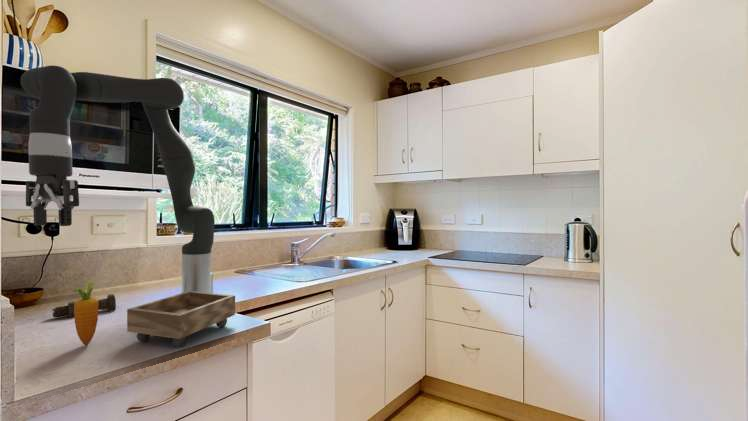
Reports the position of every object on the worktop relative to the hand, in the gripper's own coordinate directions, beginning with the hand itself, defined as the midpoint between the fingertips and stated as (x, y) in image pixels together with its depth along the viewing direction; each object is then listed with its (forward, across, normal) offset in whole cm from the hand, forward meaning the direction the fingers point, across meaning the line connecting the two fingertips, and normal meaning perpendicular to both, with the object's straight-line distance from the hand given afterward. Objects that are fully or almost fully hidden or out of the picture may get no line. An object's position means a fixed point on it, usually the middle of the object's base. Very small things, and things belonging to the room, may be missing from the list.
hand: (52, 225), depth 85 cm
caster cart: (+30, -19, -19) cm, 40 cm away
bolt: (+30, +23, -22) cm, 43 cm away
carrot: (+30, -3, -5) cm, 30 cm away
